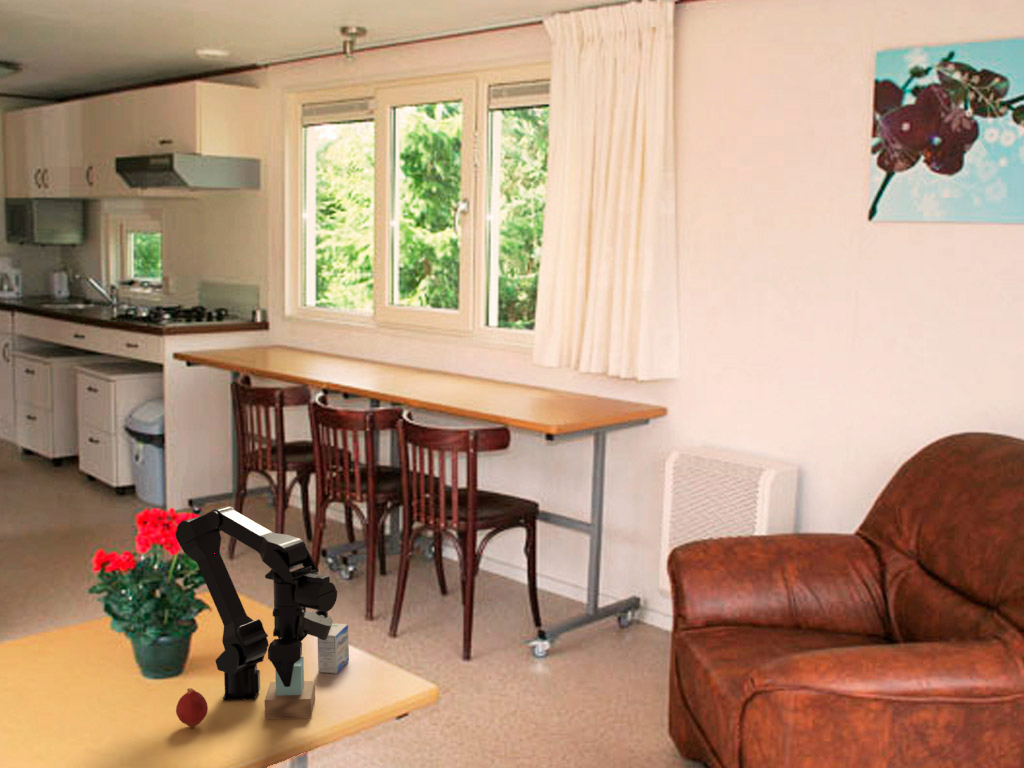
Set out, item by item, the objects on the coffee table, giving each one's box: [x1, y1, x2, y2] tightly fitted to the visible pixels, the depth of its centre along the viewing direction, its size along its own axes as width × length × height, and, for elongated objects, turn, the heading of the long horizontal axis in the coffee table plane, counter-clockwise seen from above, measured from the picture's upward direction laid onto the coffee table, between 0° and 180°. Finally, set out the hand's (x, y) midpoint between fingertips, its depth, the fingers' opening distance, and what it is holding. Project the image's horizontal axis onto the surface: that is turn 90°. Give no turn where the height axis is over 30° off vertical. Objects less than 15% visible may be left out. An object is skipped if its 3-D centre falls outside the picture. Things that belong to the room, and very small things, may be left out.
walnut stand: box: [264, 680, 316, 720], centre depth 225 cm, size 9×9×4 cm
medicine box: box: [317, 623, 350, 675], centre depth 247 cm, size 8×4×9 cm, turn 168°
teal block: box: [274, 656, 305, 696], centre depth 225 cm, size 5×5×6 cm
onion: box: [175, 687, 209, 728], centre depth 217 cm, size 6×6×8 cm
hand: (290, 677), depth 225 cm, fingers open, 9 cm apart
